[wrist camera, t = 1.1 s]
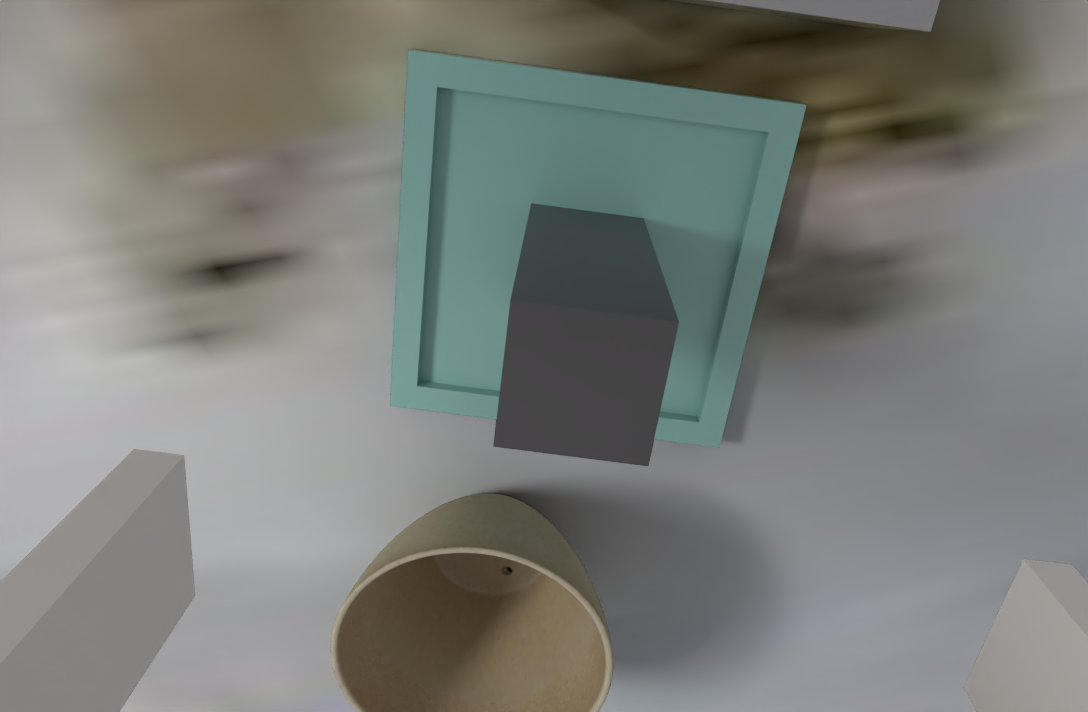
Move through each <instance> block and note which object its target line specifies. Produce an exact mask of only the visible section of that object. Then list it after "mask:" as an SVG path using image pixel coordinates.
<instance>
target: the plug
mask: <svg viewBox="0 0 1088 712" xmlns="http://www.w3.org/2000/svg"><path fill="white" fill-rule="evenodd" d="M678 325H679V320H678V317H677V314H676V311H675V309H674V306H673V303H672V300H671V297H670V294H669V291H668V288H667V285H666V282H665V279H664V276H663V273H662V271H661V268H660V265H659V262H658V259H657V256H656V253H655V250H654V247H653V244H652V241H651V238H650V235H649V233H648V230H647V227H646V224H645V221H644V218H638V217H631V216H623V215H616V214H608V213H601V212H593V211H586V210H578V209H571V208H563V207H556V206H548V205H541V204H534V203H531V206H530V211H529V216H528V220H527V225H526V230H525V234H524V239H523V244H522V248H521V253H520V258H519V262H518V267H517V272H516V276H515V281H514V286H513V290H512V295H511V300H510V308H509V317H508V325H507V334H506V342H505V351H504V360H503V368H502V377H501V385H500V394H499V403H498V411H497V420H496V428H495V437H494V447H502V448H510V449H518V450H525V451H533V452H541V453H549V454H557V455H565V456H573V457H580V458H588V459H596V460H604V461H612V462H620V463H628V464H635V465H643V466H649V461H650V456H651V452H652V447H653V442H654V438H655V433H656V428H657V424H658V419H659V414H660V410H661V405H662V400H663V396H664V391H665V386H666V381H667V377H668V372H669V367H670V363H671V358H672V353H673V349H674V344H675V339H676V335H677V330H678Z"/></svg>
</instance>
